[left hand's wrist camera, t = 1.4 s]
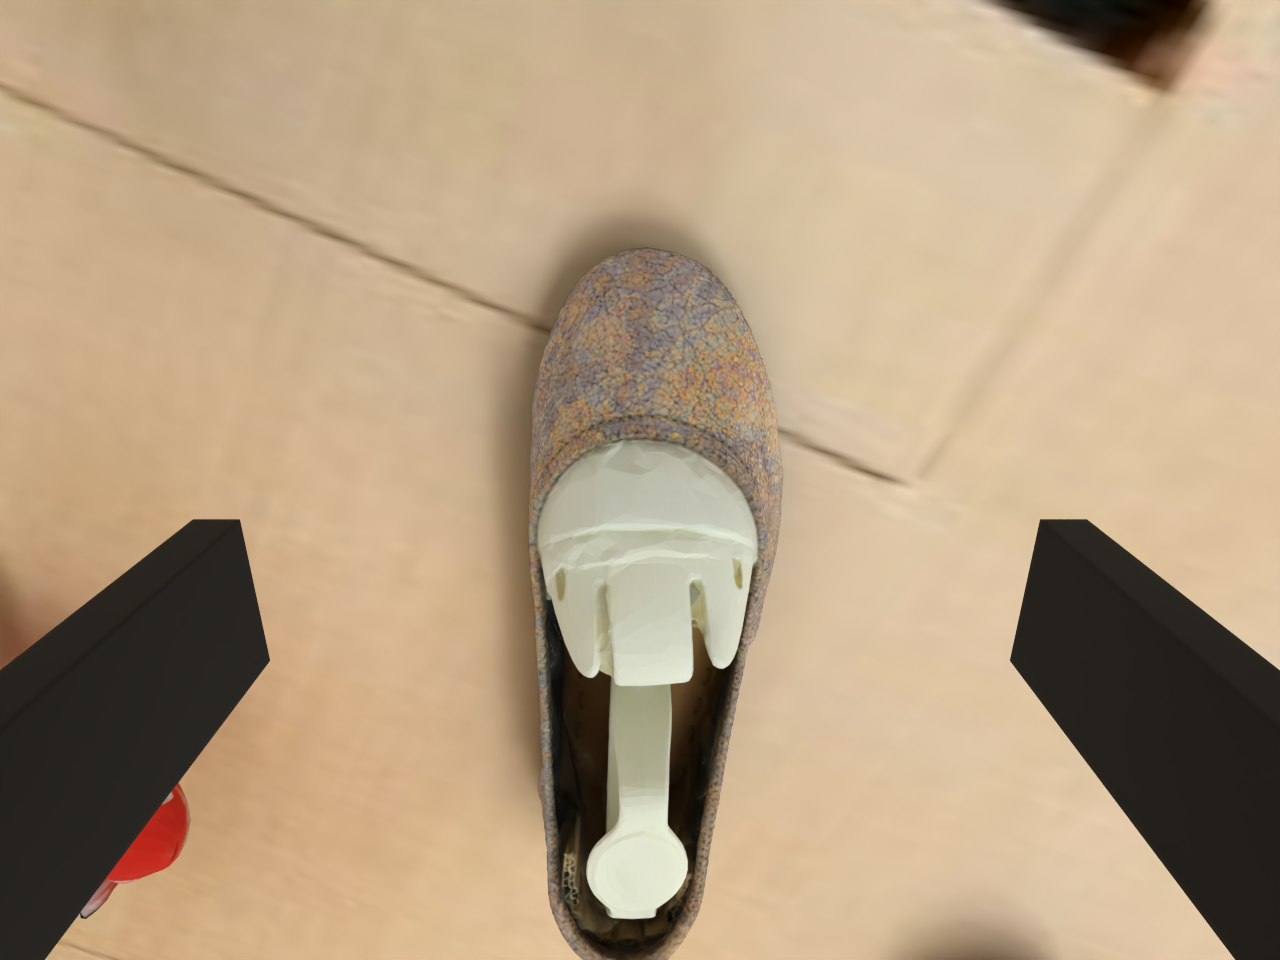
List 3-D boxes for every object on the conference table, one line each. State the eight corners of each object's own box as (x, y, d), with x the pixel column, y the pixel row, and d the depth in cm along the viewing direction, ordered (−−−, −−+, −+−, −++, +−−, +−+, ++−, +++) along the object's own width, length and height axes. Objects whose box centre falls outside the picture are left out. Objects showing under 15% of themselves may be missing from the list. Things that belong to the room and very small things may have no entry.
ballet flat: (791, 242, 23) (860, 279, 16) (747, 845, 33) (778, 1052, 25) (516, 242, 24) (453, 279, 16) (551, 843, 33) (522, 1049, 25)
